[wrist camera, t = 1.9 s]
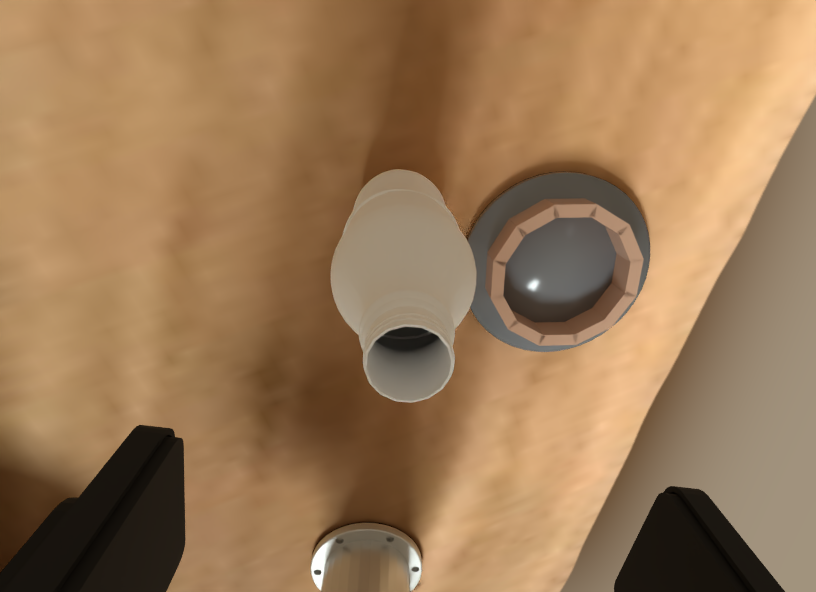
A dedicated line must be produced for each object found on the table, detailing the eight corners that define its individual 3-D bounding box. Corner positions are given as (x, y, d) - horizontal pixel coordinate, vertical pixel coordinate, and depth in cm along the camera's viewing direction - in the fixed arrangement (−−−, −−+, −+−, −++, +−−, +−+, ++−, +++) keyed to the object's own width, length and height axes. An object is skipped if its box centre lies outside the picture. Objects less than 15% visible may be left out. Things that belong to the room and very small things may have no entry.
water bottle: (382, 265, 40) (366, 481, 17) (339, 191, 37) (252, 323, 14) (457, 227, 39) (551, 402, 16) (418, 148, 36) (462, 216, 13)
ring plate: (668, 294, 42) (691, 310, 38) (509, 374, 44) (518, 395, 41) (604, 132, 36) (625, 135, 33) (427, 234, 39) (431, 245, 36)
